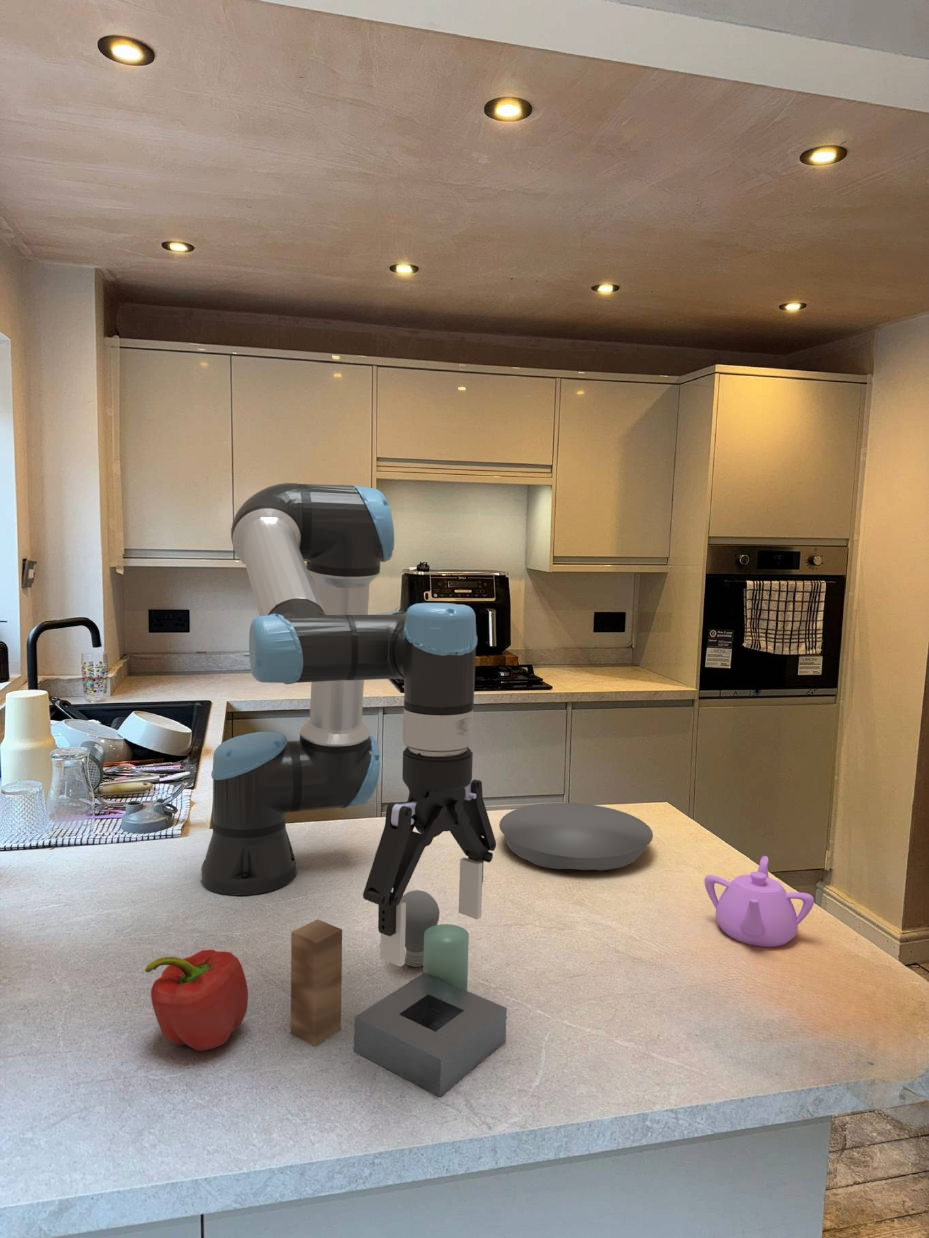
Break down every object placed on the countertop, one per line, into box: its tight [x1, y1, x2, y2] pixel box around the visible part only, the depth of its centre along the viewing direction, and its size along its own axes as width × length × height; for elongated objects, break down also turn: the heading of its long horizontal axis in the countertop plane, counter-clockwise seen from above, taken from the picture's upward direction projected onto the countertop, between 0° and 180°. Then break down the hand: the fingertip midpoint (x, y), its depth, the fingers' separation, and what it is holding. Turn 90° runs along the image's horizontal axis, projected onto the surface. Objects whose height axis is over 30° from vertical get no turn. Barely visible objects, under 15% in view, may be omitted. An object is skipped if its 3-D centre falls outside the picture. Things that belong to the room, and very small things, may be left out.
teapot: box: [704, 855, 815, 948], centre depth 121 cm, size 12×14×9 cm
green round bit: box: [422, 923, 470, 991], centre depth 102 cm, size 6×6×8 cm
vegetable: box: [144, 949, 249, 1052], centre depth 92 cm, size 11×10×10 cm
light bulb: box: [400, 889, 440, 968], centre depth 109 cm, size 6×6×10 cm
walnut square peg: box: [290, 919, 343, 1047], centre depth 94 cm, size 4×4×12 cm
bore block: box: [353, 972, 508, 1098], centre depth 92 cm, size 12×12×4 cm
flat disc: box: [499, 802, 654, 871], centre depth 152 cm, size 28×28×4 cm
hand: (433, 937), depth 91 cm, fingers open, 13 cm apart
